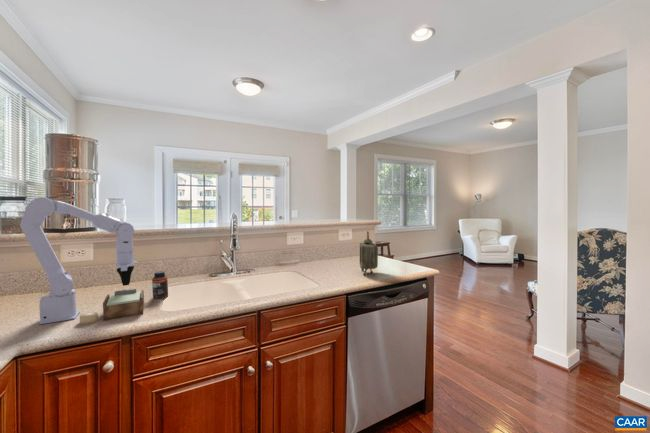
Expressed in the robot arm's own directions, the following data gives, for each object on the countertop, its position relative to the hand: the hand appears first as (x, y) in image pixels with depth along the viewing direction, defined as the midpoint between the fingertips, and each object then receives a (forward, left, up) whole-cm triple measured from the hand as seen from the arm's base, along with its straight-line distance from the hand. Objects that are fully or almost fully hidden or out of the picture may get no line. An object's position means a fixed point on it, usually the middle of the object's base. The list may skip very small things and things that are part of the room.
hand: (126, 284), depth 118 cm
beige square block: (-10, -13, -8) cm, 18 cm away
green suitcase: (+118, -10, -9) cm, 119 cm away
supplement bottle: (+12, +4, -9) cm, 15 cm away
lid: (0, -9, -3) cm, 9 cm away
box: (0, -9, -8) cm, 12 cm away
